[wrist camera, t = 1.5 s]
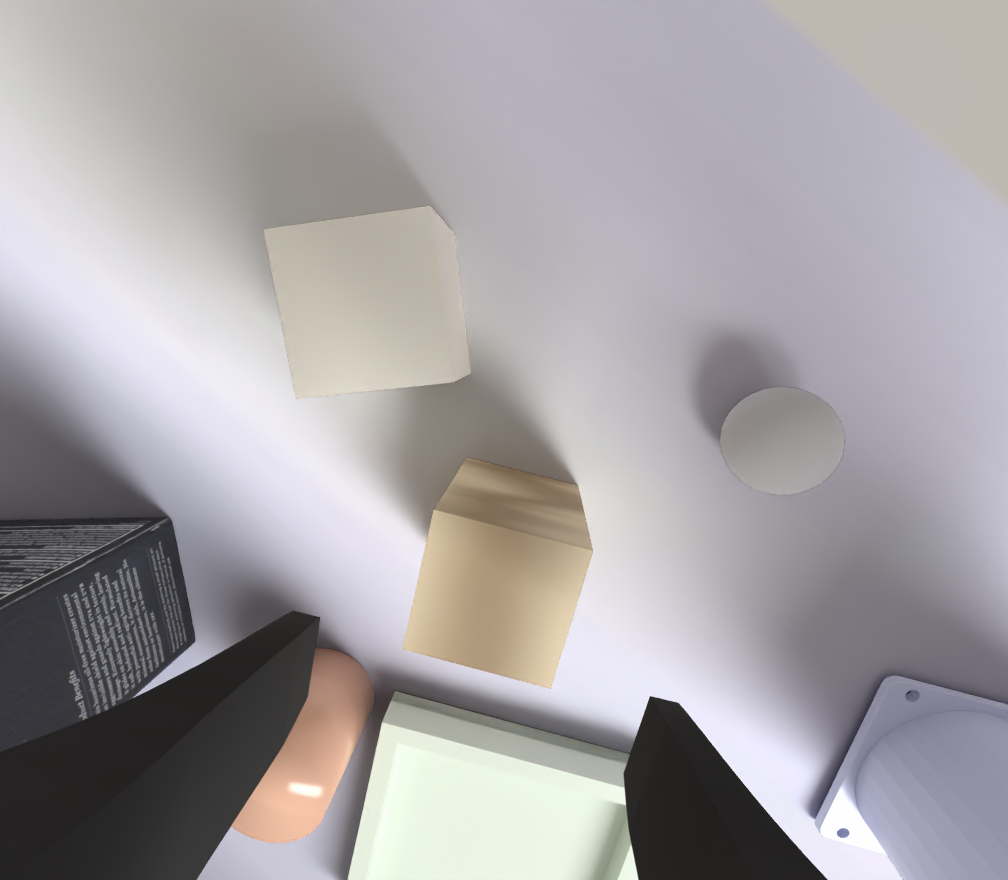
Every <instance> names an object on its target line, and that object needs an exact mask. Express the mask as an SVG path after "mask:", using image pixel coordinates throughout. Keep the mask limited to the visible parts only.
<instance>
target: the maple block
mask: <svg viewBox="0 0 1008 880" xmlns="http://www.w3.org/2000/svg"><path fill="white" fill-rule="evenodd" d="M592 553H593V548H592V544H591V540H590V535H589V531H588V527H587V522H586V518H585V514H584V509H583V505H582V501H581V496H580V492H579V488H578V485H574V484H570V483H566V482H562V481H559V480H555V479H551V478H547V477H543V476H539V475H535V474H531V473H527V472H523V471H519V470H516V469H512V468H508V467H504V466H500V465H496V464H492V463H488V462H484V461H480V460H476V459H472V458H469V457H467V458H466V459H465V461H464V462H463V464H462V465H461V467H460V469H459V470H458V472H457V473H456V475H455V477H454V478H453V480H452V481H451V483H450V484H449V486H448V488H447V489H446V491H445V492H444V494H443V495H442V497H441V499H440V500H439V502H438V503H437V505H436V507H435V508H434V510H433V514H432V519H431V523H430V528H429V532H428V537H427V541H426V546H425V551H424V555H423V560H422V564H421V569H420V573H419V578H418V582H417V587H416V591H415V596H414V600H413V605H412V609H411V614H410V618H409V623H408V627H407V632H406V636H405V641H404V645H403V649H404V650H407V651H411V652H415V653H419V654H422V655H426V656H430V657H434V658H437V659H441V660H445V661H449V662H452V663H456V664H460V665H464V666H467V667H471V668H475V669H479V670H482V671H486V672H490V673H494V674H497V675H501V676H505V677H509V678H512V679H516V680H520V681H524V682H527V683H531V684H535V685H539V686H542V687H546V688H550V689H551V686H552V683H553V680H554V677H555V673H556V670H557V667H558V664H559V660H560V657H561V654H562V651H563V647H564V644H565V641H566V638H567V634H568V631H569V628H570V624H571V621H572V618H573V615H574V611H575V608H576V605H577V602H578V598H579V595H580V592H581V589H582V585H583V582H584V579H585V576H586V572H587V569H588V566H589V563H590V559H591V556H592Z"/></svg>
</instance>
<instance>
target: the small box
mask: <svg viewBox="0 0 1008 880" xmlns="http://www.w3.org/2000/svg"><path fill="white" fill-rule="evenodd" d="M194 642H195V634H194V629H193V625H192V619H191V614H190V609H189V604H188V599H187V594H186V588H185V584H184V579H183V574H182V569H181V564H180V560H179V554H178V550H177V544H176V539H175V535H174V530H173V526H172V522H171V521H170V520H169V519H168V518H116V519H93V518H91V519H66V520H14V521H0V752H1V751H4V750H6V749H9V748H12V747H14V746H17V745H20V744H22V743H25V742H28V741H30V740H33V739H36V738H39V737H41V736H44V735H47V734H49V733H52V732H55V731H57V730H60V729H63V728H65V727H68V726H70V725H73V724H75V723H77V722H80V721H82V720H85V719H87V718H89V717H91V716H94V715H96V714H98V713H101V712H103V711H105V710H108V709H110V708H112V707H115V706H117V705H119V704H121V703H124V702H126V701H128V700H130V699H132V698H133V697H134V696H135V695H136V694H137V693H139V692H140V691H141V690H142V689H143V688H144V687H145V686H146V685H148V684H149V683H150V682H151V681H152V680H153V679H154V678H155V677H156V676H158V675H159V674H160V673H161V672H162V671H163V670H164V669H165V668H166V667H168V666H169V665H170V664H171V663H172V662H173V661H174V660H175V659H176V658H178V657H179V656H180V655H181V654H182V653H183V652H184V651H185V650H187V649H188V648H189V647H190V646H191V645H192V644H193V643H194Z"/></svg>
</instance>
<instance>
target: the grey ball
mask: <svg viewBox="0 0 1008 880" xmlns="http://www.w3.org/2000/svg"><path fill="white" fill-rule="evenodd" d="M844 442H845V440H844V432H843V428H842V424H841V422H840V420H839V418H838V416H837V414H836V413H835V412H834V410H833V409H832V408H831V407H830V406H829V405H828V404H827V403H826V402H825V401H823V400H822V399H821V398H819V397H818V396H816V395H814V394H812V393H810V392H807V391H804V390H801V389H797V388H792V387H773V388H768V389H763V390H760V391H757V392H755V393H753V394H751V395H749V396H747V397H746V398H744V399H743V400H741V401H740V402H739V403H738V404H737V405H736V406H735V407H734V408H733V409H732V410H731V411H730V413H729V414H728V416H727V417H726V419H725V421H724V424H723V427H722V430H721V437H720V445H721V452H722V455H723V458H724V460H725V462H726V464H727V466H728V468H729V469H730V471H731V472H732V473H733V474H734V475H735V476H736V477H737V478H738V479H739V480H740V481H741V482H743V483H744V484H746V485H747V486H749V487H751V488H753V489H755V490H758V491H761V492H764V493H768V494H774V495H791V494H797V493H801V492H804V491H807V490H810V489H812V488H814V487H816V486H818V485H819V484H821V483H822V482H823V481H825V480H826V479H827V478H828V477H829V476H830V475H831V474H832V473H833V472H834V470H835V469H836V467H837V466H838V464H839V462H840V460H841V457H842V454H843V450H844Z"/></svg>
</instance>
